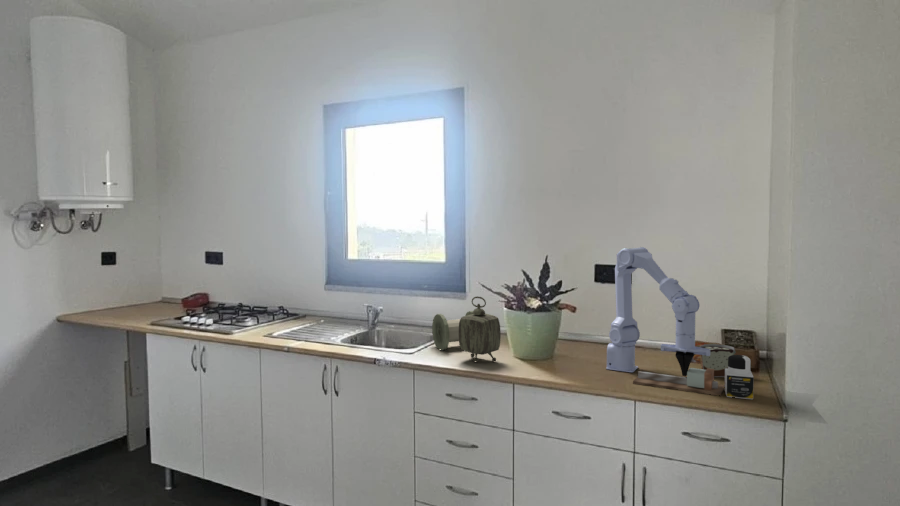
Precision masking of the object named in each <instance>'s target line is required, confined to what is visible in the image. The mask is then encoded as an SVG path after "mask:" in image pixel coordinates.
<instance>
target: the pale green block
mask: <svg viewBox="0 0 900 506" xmlns="http://www.w3.org/2000/svg"><path fill="white" fill-rule="evenodd" d="M705 371H706V370H704V369H701V368H695V367H689V369H688V372H687V376H686V377H687V386H691V387H698V388H704V373H705Z"/></svg>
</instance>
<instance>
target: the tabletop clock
mask: <svg viewBox="0 0 900 506" xmlns="http://www.w3.org/2000/svg"><path fill="white" fill-rule="evenodd" d="M475 299H480V300H483V302H484V304H483V305H481V304H480V303H477V304H474V300H475ZM486 303H487V301H486V299H485V298H484V297H482V296H473V298H472V299H471V304H472V306H473V307H475V308H474V310H472V311H473V313H472V315H467V316H461V317H460V322H459V341H458V344H459V349H461V350H463V351H465V352H467V353H470V357H471V358H473V362H474V361H477V362H478V361H479V360H478V358H477V357H478V355H482V356H483V355H486V354H487V355H489V356H490V358H491V361H492V362H493V361H495V362H496V361H497V358H496V357H494V356H493V354H492V353H494V352H496V351H499V350H500V347H501V336H502V335H501V334H502V333H501V323H500V320H499V318H498V317H497V316H496V315H494V314H490V313H489V314H488V313H486V311H485V310H484V309H483V308H485V307H486V305H487V304H486Z"/></svg>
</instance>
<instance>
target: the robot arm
mask: <svg viewBox="0 0 900 506" xmlns="http://www.w3.org/2000/svg"><path fill="white" fill-rule="evenodd" d="M637 269H643V270H644V271H645V273H647V274H648V275H649V276H651V277H652V279H653V280H654V281H656V283H658V284H659V291H660V292H661V293H662V294H663V295H664V296H665V298H666V299H667V300H669V302H670V303H671V308H672V309H671V310H672V311H673V313H674V318H675V344H670V343H669V344H668V343H661V344H660V352H674V353H675V355H674V356H675V359H676V360H677V362H678V364H679V367H680V371H681V377H687V372H688V370H689V369H690V366H691V363H692V362H691V361H692V358H693V357H694V355H695V354H698V355H706V356H710V349H707V348H701V347H695V340H696V313H697V312H698V311H699V310H700V301H699V298H697V296H696V295H693V294H690V293H689V292H688V291H687V290H685V289H684V288H683V287H682V285H680V283H679V280H677V279H675V278H672V277H668V276H667V274H665V272H664V271H663V270H662V269H661V267H660V266H659V264H658V263H657V262H656V261H655V259H654V258H653V254H652V253H651V252H650V251H649V249H647V248H646V247H643V246H642V247H641V246H640V247H632V248H627V247H625V248H624V247H623V248H621V250H619V251H618V252H617V253H616V263H615V267H614V283H615V285H614V286H615V313H616V314H615V315H616V316H615V318H614V320H613V321H612V322H611V323H610V331H609V334H608V335H609V339H610V341H611V342H609V343H608V344H607V347H606V367H605V369H606V370H611V371H618V372H623V373H624V372H626V373H634V372H635V371H636V370H637V369H638V368H639V366H638V365H636V345H637V341H638V340H640V335H641V334H640V330H639V328H638V321H637V320H635V319H634V318H633V295H632V292H633V291H632V274H633V273H634V272H635V271H636V270H637Z"/></svg>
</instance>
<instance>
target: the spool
mask: <svg viewBox="0 0 900 506" xmlns="http://www.w3.org/2000/svg"><path fill="white" fill-rule="evenodd" d="M473 311H474V310H468V311H467V312H466V313H465V314H464V315H465V316H467V315H472V313H473ZM460 319H461V318H460ZM460 319H449V320H447V317H445V315H444V314H443V313H436V314H435V315H434V317H433V319H432V325H431V329H432V330H431V332H432V340H433V342H434V346H435V347H436V349H437V348H439V349H441V350H442V351H446V350H447V349H448V347H449V344H450V343H454V342H459V322H460ZM439 349H438V350H439Z"/></svg>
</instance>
